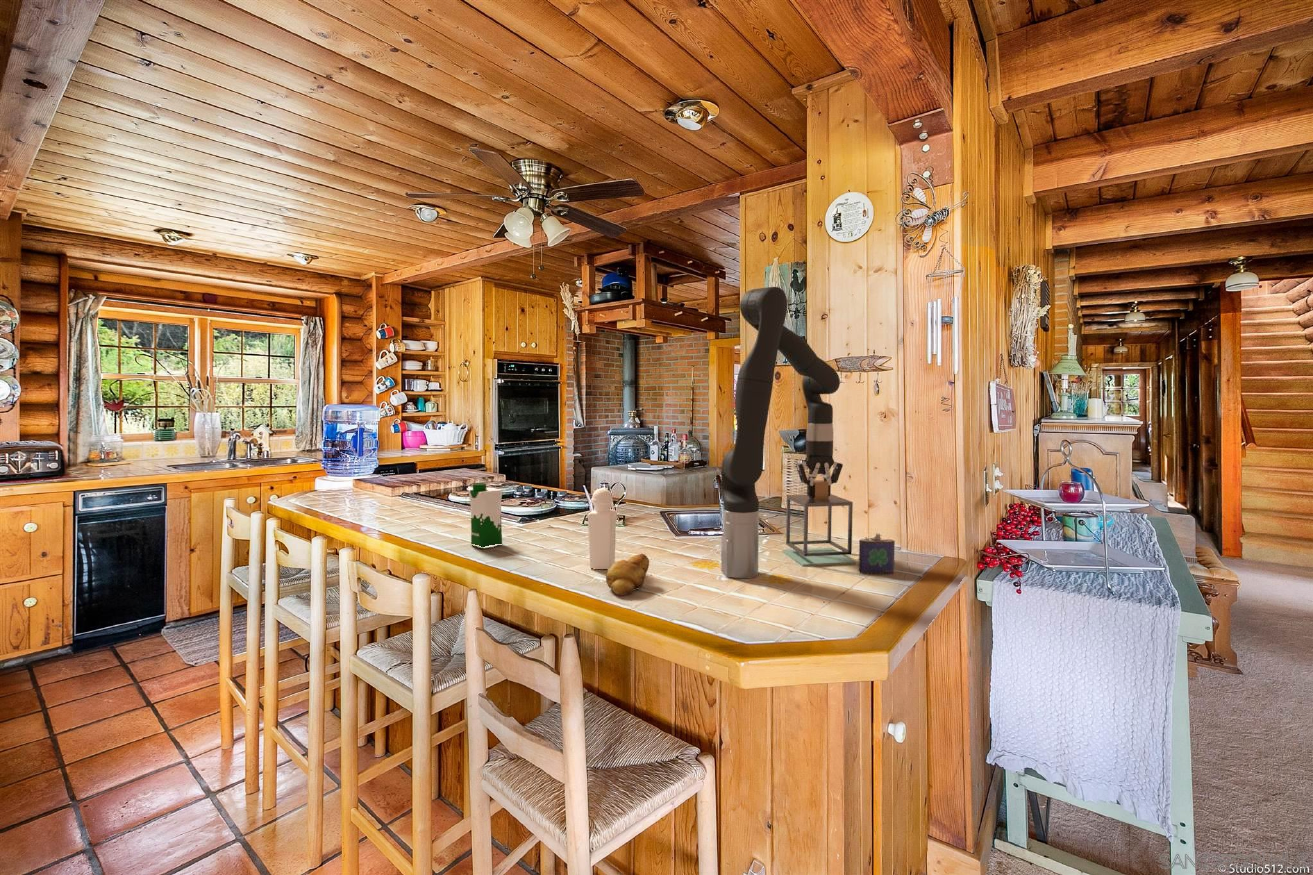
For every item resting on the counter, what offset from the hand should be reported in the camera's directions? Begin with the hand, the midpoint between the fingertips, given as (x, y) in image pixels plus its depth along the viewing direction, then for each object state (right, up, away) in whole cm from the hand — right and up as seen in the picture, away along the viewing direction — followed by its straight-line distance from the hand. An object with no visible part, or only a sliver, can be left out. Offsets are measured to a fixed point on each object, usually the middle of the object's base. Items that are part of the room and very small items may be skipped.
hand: (818, 497), depth 172 cm
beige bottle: (-62, -19, -8) cm, 65 cm away
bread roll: (-55, -20, -27) cm, 64 cm away
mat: (0, -18, +1) cm, 18 cm away
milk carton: (-101, -17, +16) cm, 104 cm away
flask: (+11, -19, -14) cm, 26 cm away
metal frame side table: (0, -15, +1) cm, 15 cm away
